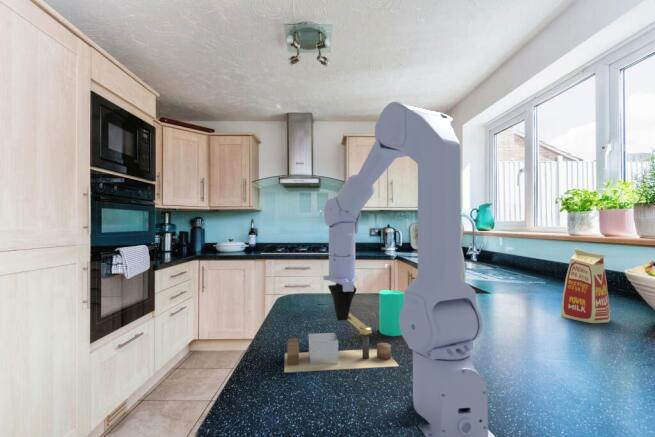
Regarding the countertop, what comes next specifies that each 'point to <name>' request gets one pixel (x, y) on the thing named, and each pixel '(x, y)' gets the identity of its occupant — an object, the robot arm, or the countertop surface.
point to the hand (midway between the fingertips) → (342, 319)
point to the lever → (359, 325)
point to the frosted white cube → (323, 349)
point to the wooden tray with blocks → (340, 358)
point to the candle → (390, 312)
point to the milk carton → (586, 289)
